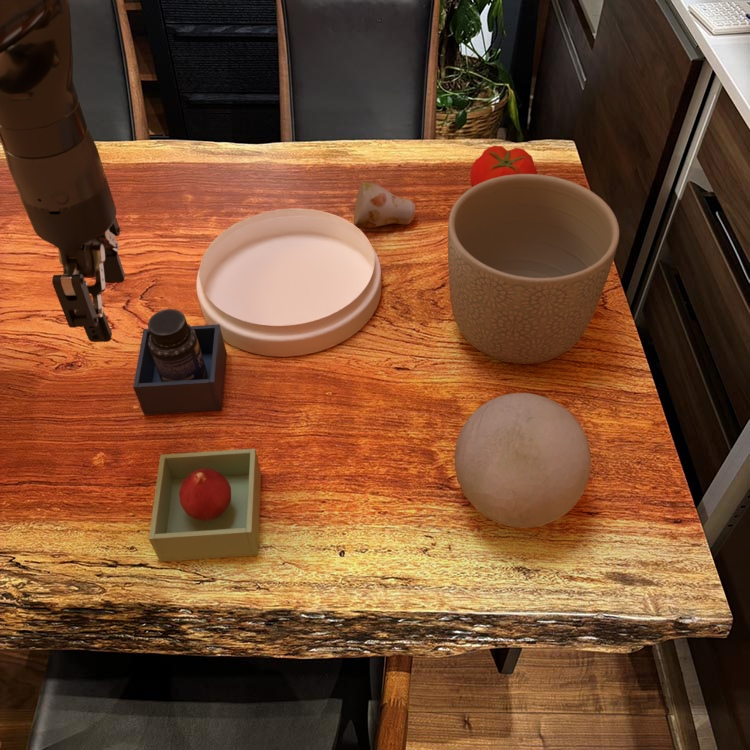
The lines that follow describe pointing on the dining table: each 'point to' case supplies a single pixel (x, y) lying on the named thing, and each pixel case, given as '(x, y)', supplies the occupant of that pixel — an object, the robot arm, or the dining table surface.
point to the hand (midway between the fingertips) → (108, 309)
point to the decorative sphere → (522, 460)
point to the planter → (528, 264)
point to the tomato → (501, 164)
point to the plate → (289, 282)
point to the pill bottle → (175, 347)
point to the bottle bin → (183, 393)
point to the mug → (381, 207)
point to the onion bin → (213, 537)
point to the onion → (205, 494)
